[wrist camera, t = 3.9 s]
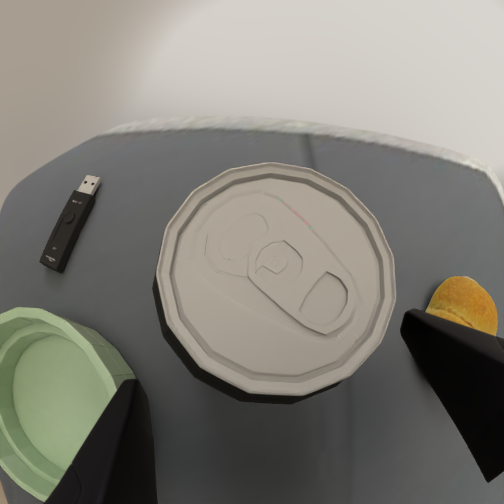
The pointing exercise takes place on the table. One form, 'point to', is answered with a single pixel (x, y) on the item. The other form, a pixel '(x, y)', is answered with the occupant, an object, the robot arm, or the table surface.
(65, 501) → the robot arm
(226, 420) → the table surface
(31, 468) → the bowl
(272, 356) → the beverage can
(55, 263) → the usb flash drive
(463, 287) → the bread roll
